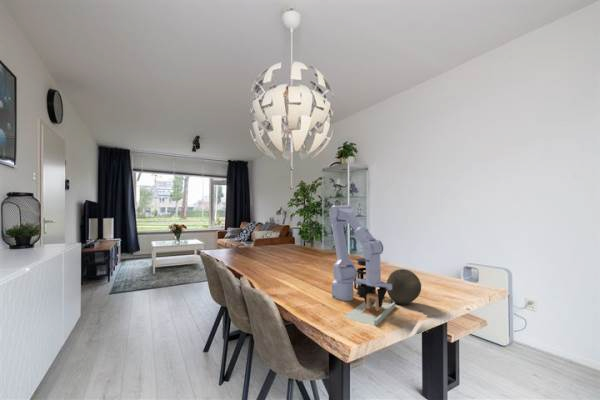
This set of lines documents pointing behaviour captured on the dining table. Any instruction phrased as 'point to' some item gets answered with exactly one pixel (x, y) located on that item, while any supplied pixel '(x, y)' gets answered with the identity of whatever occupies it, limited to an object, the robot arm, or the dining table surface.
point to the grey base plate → (367, 318)
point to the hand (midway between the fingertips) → (373, 304)
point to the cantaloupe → (404, 286)
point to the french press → (360, 272)
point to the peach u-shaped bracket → (369, 298)
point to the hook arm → (372, 302)
